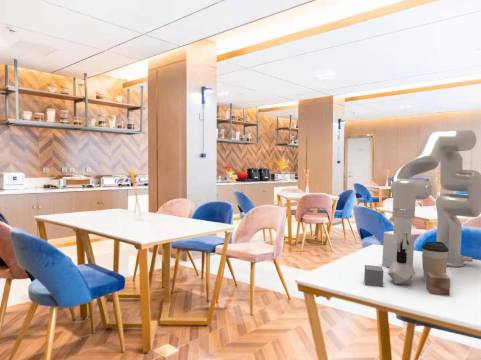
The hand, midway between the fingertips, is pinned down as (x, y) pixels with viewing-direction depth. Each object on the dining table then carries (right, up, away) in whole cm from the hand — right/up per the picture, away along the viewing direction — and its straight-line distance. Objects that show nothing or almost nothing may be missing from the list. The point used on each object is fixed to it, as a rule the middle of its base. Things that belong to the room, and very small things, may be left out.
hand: (401, 262), depth 134 cm
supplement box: (+8, -7, +21) cm, 24 cm away
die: (0, -8, +1) cm, 8 cm away
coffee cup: (+13, -8, +3) cm, 16 cm away
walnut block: (+9, -9, -8) cm, 15 cm away
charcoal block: (-11, -8, -1) cm, 13 cm away
